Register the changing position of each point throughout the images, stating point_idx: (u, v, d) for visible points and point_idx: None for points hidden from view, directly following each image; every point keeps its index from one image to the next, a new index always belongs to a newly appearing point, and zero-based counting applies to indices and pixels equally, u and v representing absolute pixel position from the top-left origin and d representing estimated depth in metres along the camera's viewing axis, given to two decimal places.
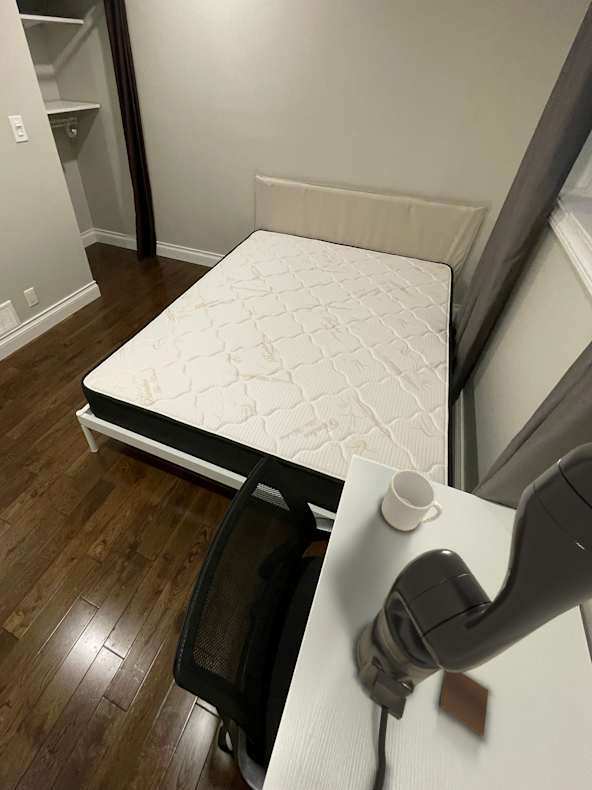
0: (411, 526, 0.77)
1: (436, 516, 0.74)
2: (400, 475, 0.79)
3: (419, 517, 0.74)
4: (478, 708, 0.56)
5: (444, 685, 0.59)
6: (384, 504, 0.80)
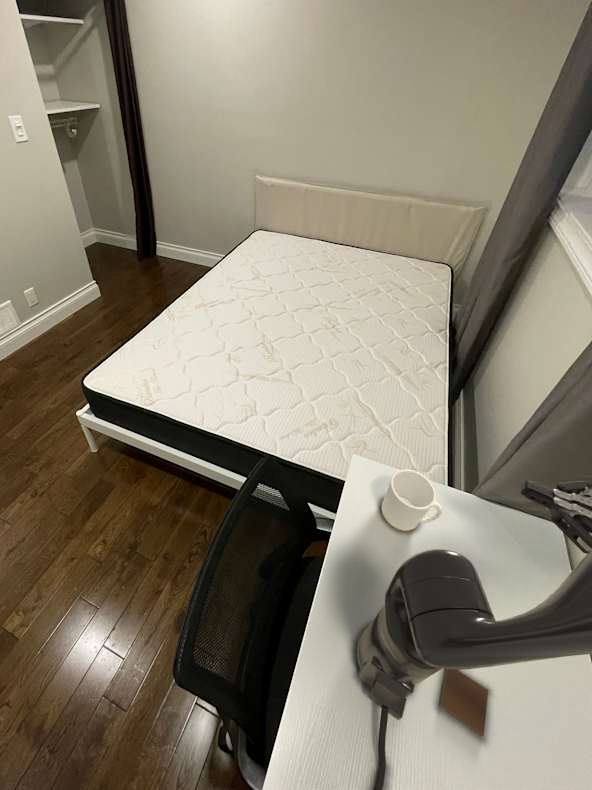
0: (411, 526, 0.77)
1: (436, 516, 0.74)
2: (400, 475, 0.79)
3: (419, 517, 0.74)
4: (478, 708, 0.56)
5: (444, 685, 0.59)
6: (384, 504, 0.80)
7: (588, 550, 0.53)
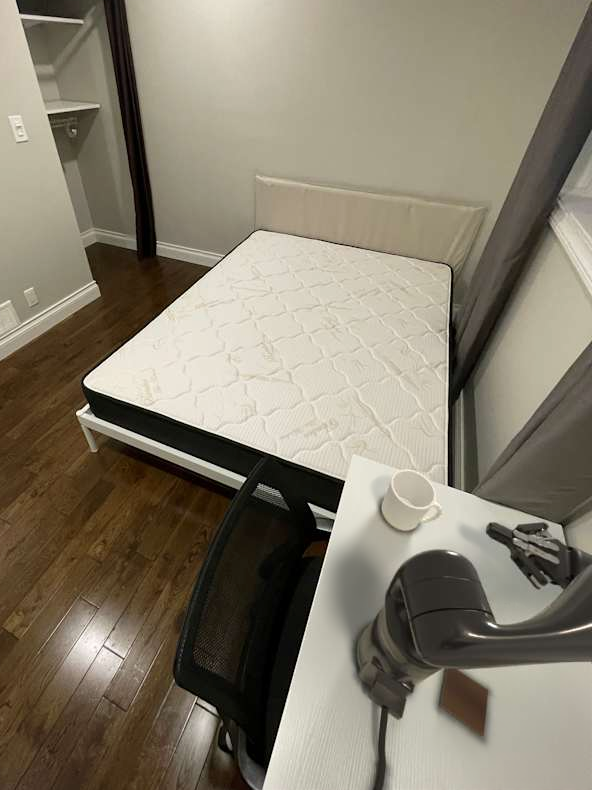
0: (411, 526, 0.77)
1: (436, 516, 0.74)
2: (400, 475, 0.79)
3: (419, 517, 0.74)
4: (478, 708, 0.56)
5: (444, 685, 0.59)
6: (384, 504, 0.80)
7: (539, 586, 0.62)
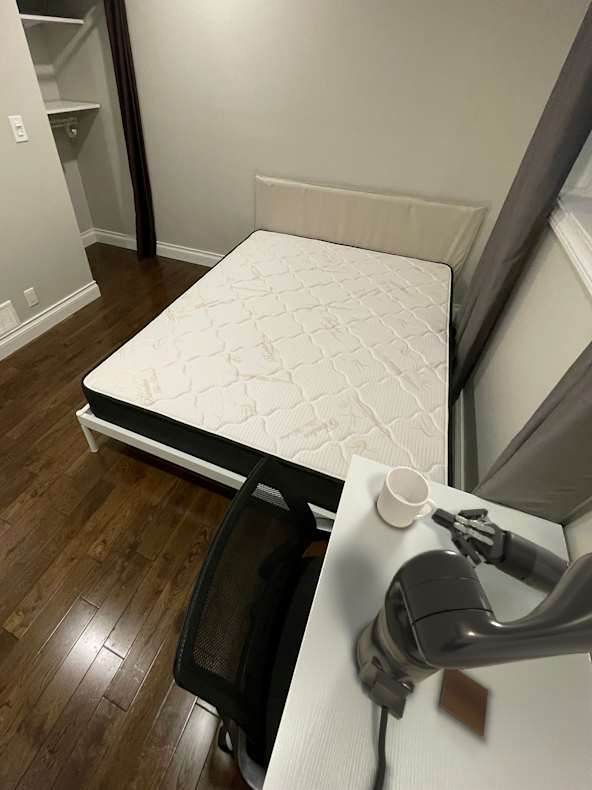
0: (405, 523, 0.78)
1: (430, 513, 0.74)
2: (396, 472, 0.79)
3: (413, 514, 0.75)
4: (478, 708, 0.56)
5: (444, 685, 0.59)
6: (379, 500, 0.80)
7: (474, 565, 0.68)
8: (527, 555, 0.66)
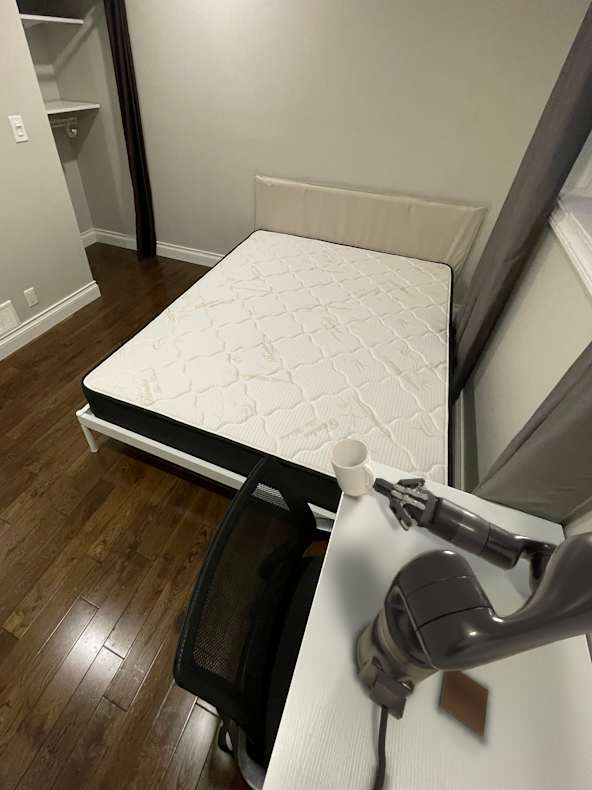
0: (355, 491, 0.82)
1: (369, 479, 0.78)
2: (346, 443, 0.86)
3: (354, 479, 0.80)
4: (478, 708, 0.56)
5: (444, 685, 0.59)
6: None
7: (406, 528, 0.73)
8: (454, 517, 0.71)
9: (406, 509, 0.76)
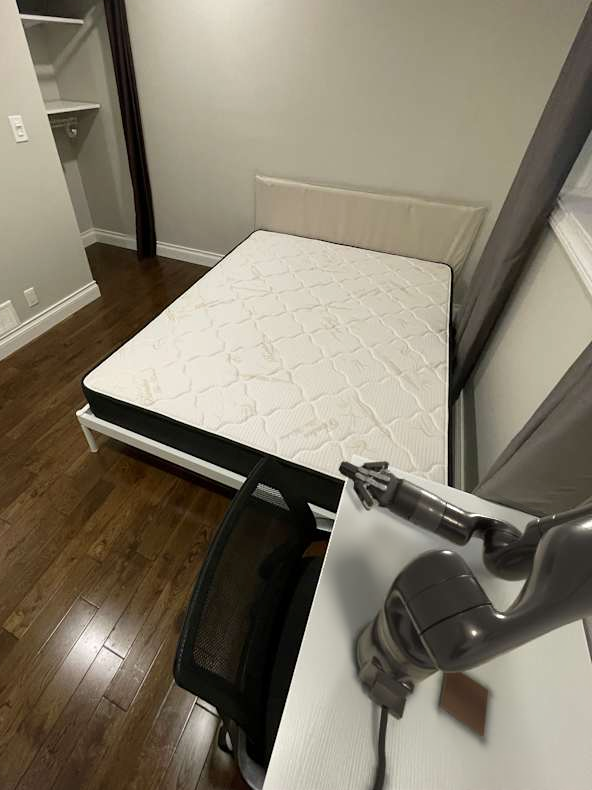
0: None
1: None
2: None
3: None
4: (478, 708, 0.56)
5: (444, 685, 0.59)
6: None
7: (367, 508, 0.76)
8: (412, 497, 0.74)
9: (369, 490, 0.79)
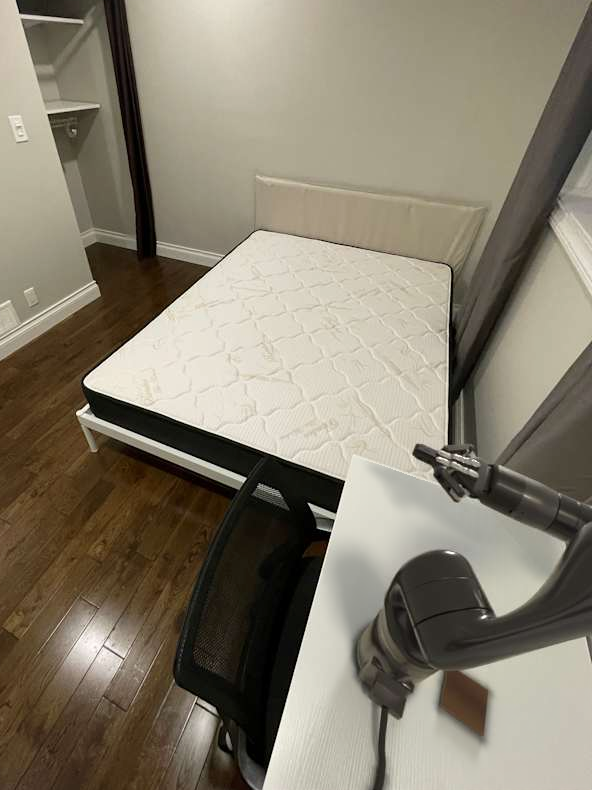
0: None
1: None
2: None
3: None
4: (478, 708, 0.56)
5: (444, 685, 0.59)
6: None
7: (457, 499, 0.62)
8: (515, 485, 0.60)
9: (455, 478, 0.65)
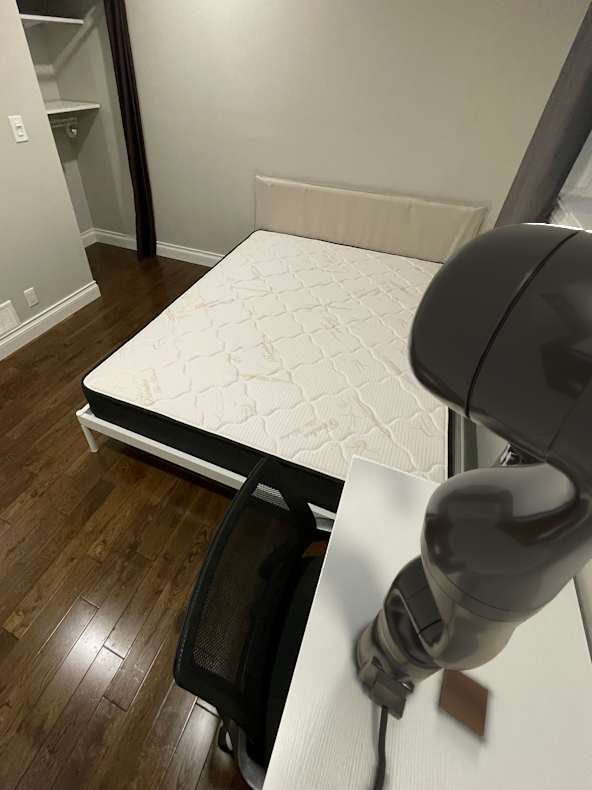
0: None
1: None
2: None
3: None
4: (478, 708, 0.56)
5: (444, 685, 0.59)
6: None
7: None
8: None
9: None
